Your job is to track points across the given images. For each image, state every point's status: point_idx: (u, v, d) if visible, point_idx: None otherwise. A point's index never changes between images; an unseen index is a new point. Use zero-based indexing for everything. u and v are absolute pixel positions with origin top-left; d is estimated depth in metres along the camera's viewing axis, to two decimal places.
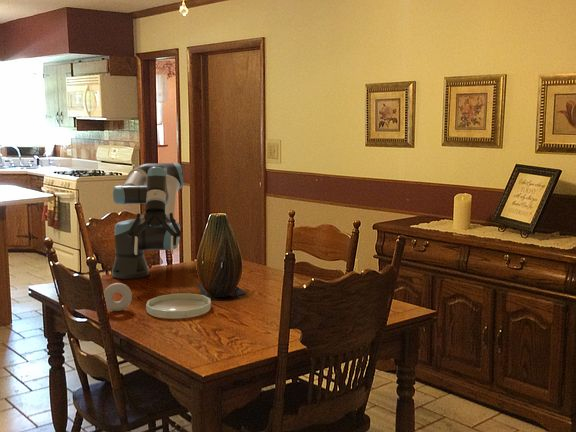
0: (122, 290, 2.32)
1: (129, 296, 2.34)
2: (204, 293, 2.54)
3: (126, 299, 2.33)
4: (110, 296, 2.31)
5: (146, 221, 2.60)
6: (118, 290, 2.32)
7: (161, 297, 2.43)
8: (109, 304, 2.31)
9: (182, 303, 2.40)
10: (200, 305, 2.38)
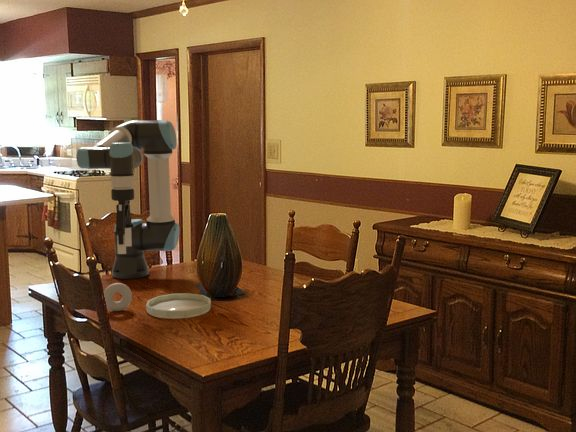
0: (122, 290, 2.32)
1: (129, 296, 2.34)
2: (203, 293, 2.54)
3: (126, 299, 2.33)
4: (110, 296, 2.31)
5: None
6: (118, 290, 2.32)
7: (161, 297, 2.43)
8: (109, 304, 2.31)
9: (182, 303, 2.40)
10: (200, 305, 2.38)
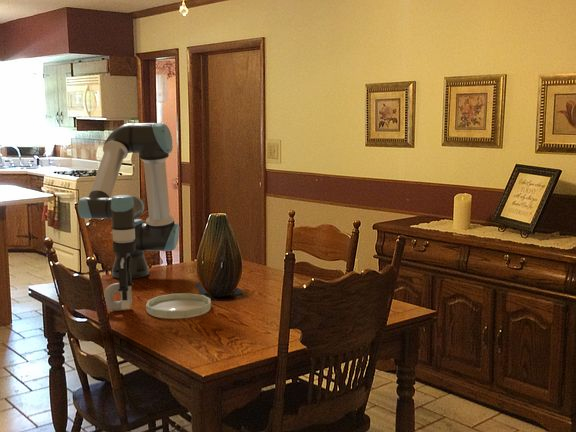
0: None
1: (129, 296, 2.33)
2: (201, 293, 2.54)
3: None
4: (110, 296, 2.31)
5: None
6: None
7: (161, 297, 2.43)
8: (109, 304, 2.31)
9: (182, 303, 2.40)
10: (200, 305, 2.38)
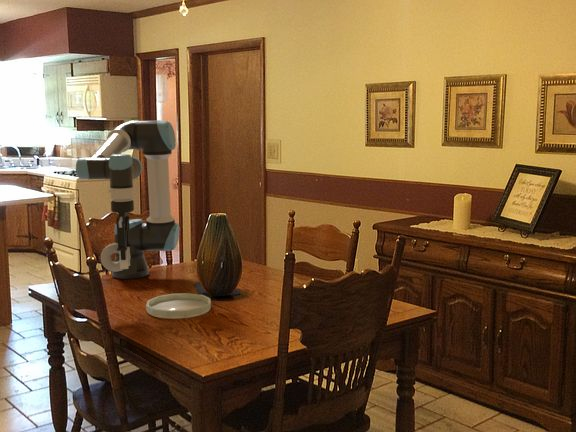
0: None
1: None
2: (199, 292, 2.55)
3: None
4: (108, 256, 2.29)
5: None
6: (116, 250, 2.29)
7: (161, 297, 2.43)
8: (107, 264, 2.29)
9: (182, 303, 2.40)
10: (200, 305, 2.38)
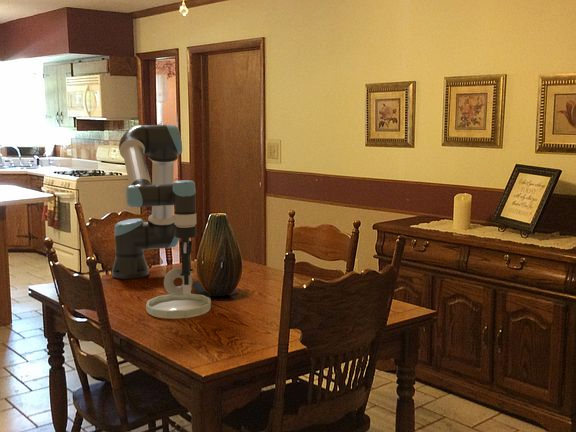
0: None
1: None
2: (197, 292, 2.55)
3: None
4: (171, 281, 2.32)
5: None
6: (179, 275, 2.33)
7: (161, 297, 2.43)
8: (170, 289, 2.32)
9: (182, 303, 2.40)
10: (200, 305, 2.38)
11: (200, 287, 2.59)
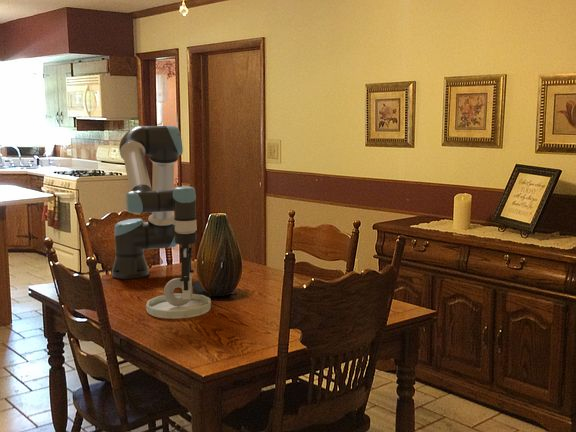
0: None
1: None
2: (196, 292, 2.55)
3: None
4: (171, 291, 2.34)
5: None
6: (178, 285, 2.35)
7: (161, 297, 2.43)
8: (170, 298, 2.34)
9: None
10: (200, 305, 2.38)
11: (199, 287, 2.59)
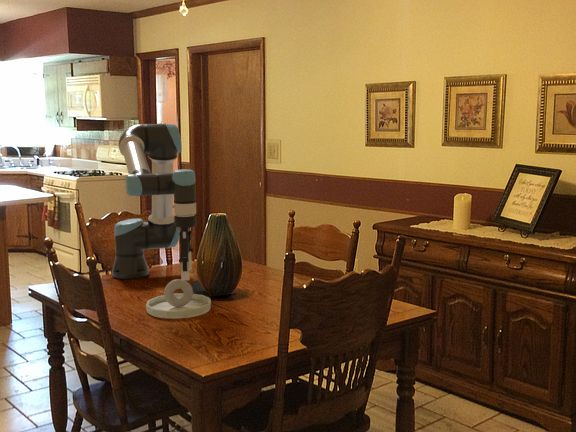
0: (183, 287, 2.33)
1: (190, 293, 2.34)
2: (194, 292, 2.56)
3: (187, 296, 2.34)
4: (171, 292, 2.33)
5: None
6: (179, 286, 2.33)
7: (161, 297, 2.43)
8: (170, 300, 2.33)
9: None
10: (200, 305, 2.38)
11: (198, 287, 2.59)
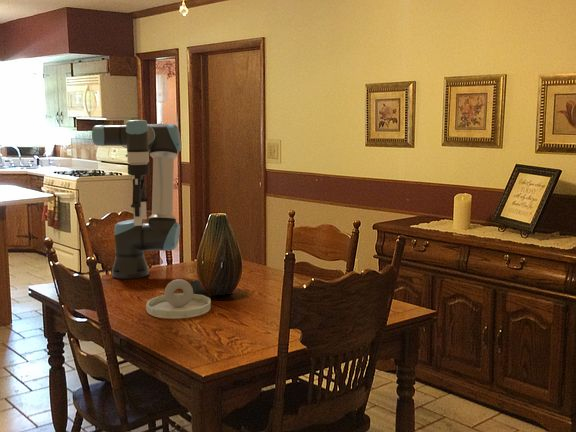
0: (184, 287, 2.34)
1: (190, 293, 2.35)
2: None
3: (187, 296, 2.34)
4: (171, 292, 2.33)
5: None
6: (179, 286, 2.34)
7: (161, 297, 2.43)
8: (170, 300, 2.33)
9: None
10: (200, 305, 2.38)
11: (196, 287, 2.60)
